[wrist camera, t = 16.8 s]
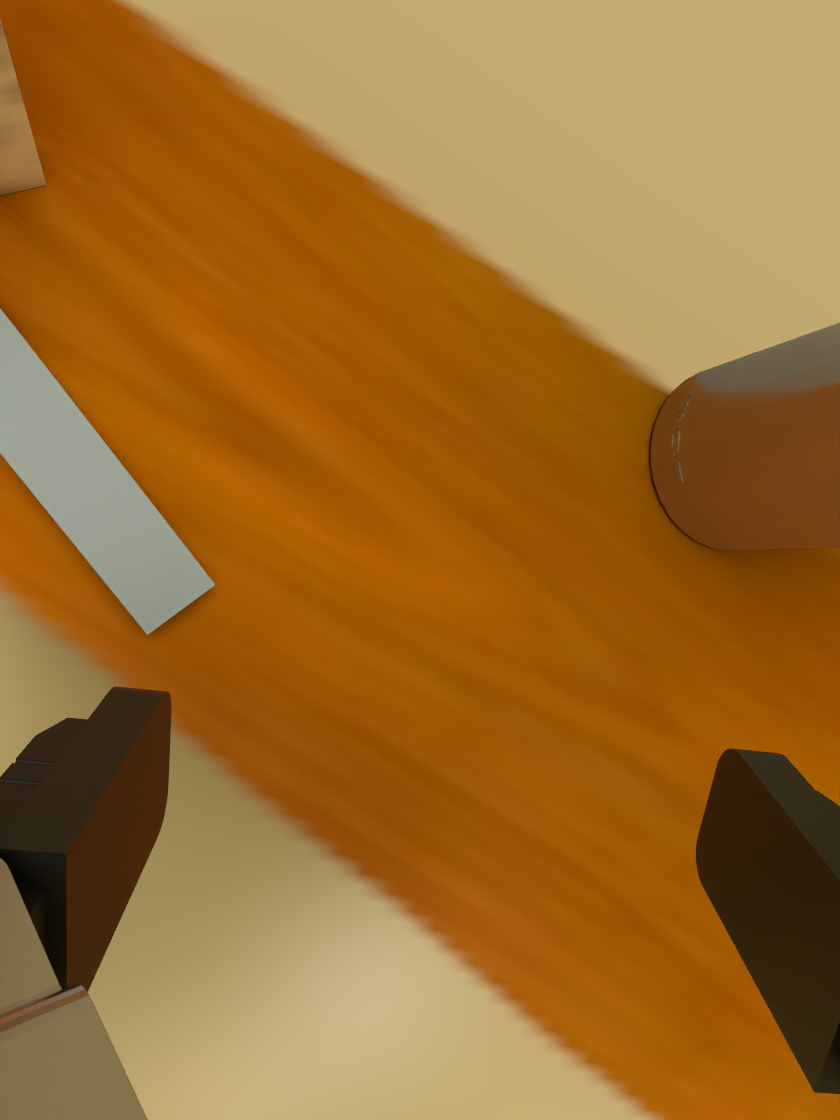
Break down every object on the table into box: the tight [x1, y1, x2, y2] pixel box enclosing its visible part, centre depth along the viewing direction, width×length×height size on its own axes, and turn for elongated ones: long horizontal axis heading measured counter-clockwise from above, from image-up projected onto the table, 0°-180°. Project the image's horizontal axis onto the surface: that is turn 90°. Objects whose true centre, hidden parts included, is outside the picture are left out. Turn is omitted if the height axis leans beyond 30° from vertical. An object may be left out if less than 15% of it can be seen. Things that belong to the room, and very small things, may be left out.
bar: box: [0, 308, 215, 635], centre depth 29 cm, size 3×14×3 cm, turn 37°
